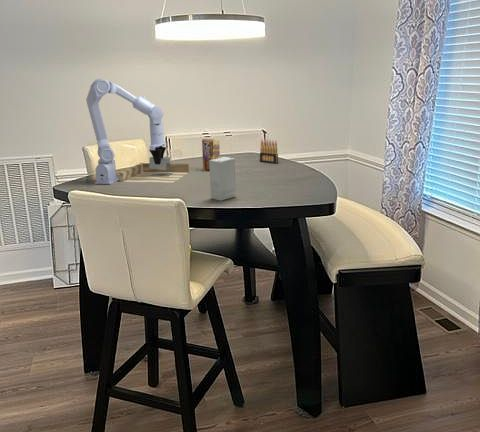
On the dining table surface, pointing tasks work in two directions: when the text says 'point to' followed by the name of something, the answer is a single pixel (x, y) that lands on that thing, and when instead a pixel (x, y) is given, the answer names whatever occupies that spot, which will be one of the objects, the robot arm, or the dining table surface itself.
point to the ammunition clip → (269, 152)
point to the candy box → (210, 152)
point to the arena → (154, 173)
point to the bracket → (163, 163)
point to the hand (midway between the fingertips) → (158, 163)
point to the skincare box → (222, 178)
